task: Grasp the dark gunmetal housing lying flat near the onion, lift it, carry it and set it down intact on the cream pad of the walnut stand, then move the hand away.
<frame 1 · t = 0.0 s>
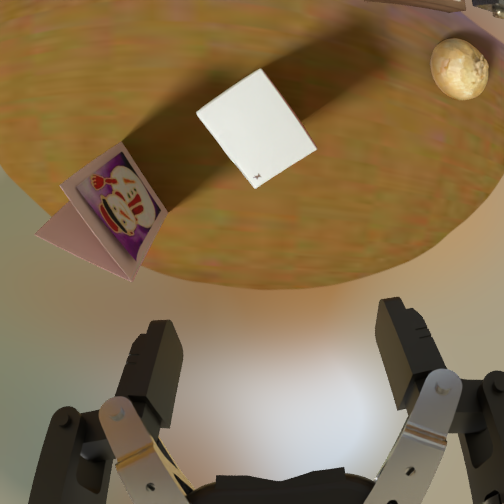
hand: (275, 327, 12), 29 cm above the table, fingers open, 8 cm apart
small box: (257, 109, 35), on the table
greeting card: (128, 187, 40), on the table
onion: (446, 67, 30), on the table
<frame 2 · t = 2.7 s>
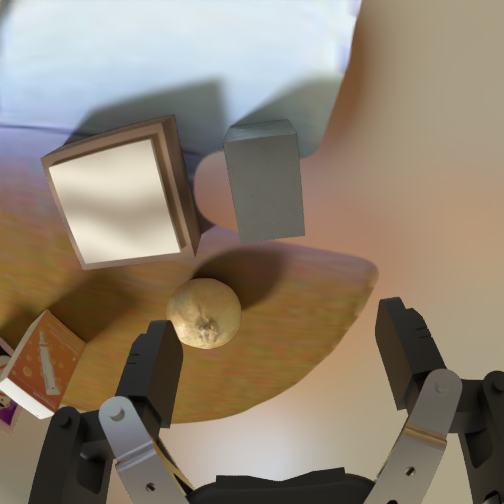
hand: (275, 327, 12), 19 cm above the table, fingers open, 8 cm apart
small box: (58, 331, 41), on the table
greeting card: (12, 355, 46), on the table
housing: (264, 166, 28), on the table
stand: (128, 188, 29), on the table
onion: (207, 295, 36), on the table
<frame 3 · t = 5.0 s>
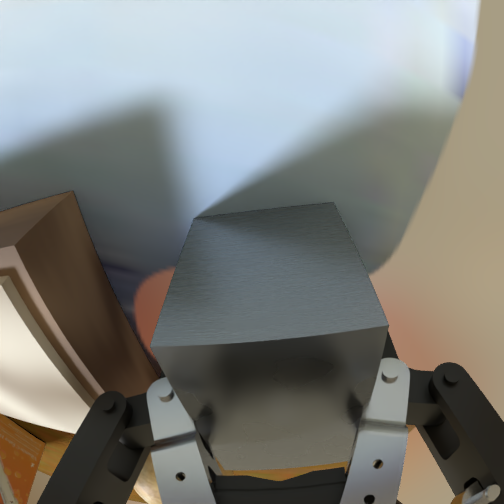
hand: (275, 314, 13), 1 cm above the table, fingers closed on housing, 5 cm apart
small box: (13, 425, 27), on the table
housing: (274, 297, 13), on the table, touching gripper
stand: (34, 312, 15), on the table
onion: (184, 436, 22), on the table
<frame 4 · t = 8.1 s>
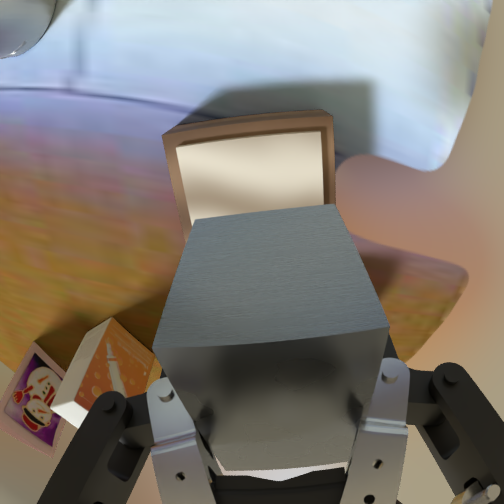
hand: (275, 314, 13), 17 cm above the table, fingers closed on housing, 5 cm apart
small box: (120, 341, 39), on the table
greeting card: (49, 365, 44), on the table
housing: (275, 297, 13), point 16 cm above the table, touching gripper
stand: (256, 183, 27), on the table
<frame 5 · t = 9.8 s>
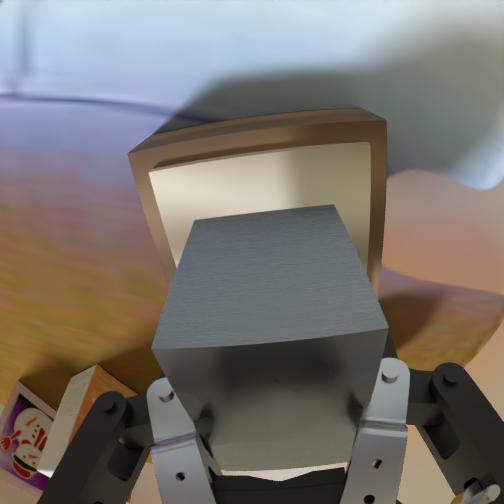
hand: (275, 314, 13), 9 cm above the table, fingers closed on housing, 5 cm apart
small box: (110, 388, 32), on the table
greeting card: (38, 403, 37), on the table
housing: (274, 298, 13), point 8 cm above the table, touching gripper
stand: (268, 212, 20), on the table
when the fingers open (7 cm above the table, at t = 11.1 s): housing drops 1 cm, resting on stand.
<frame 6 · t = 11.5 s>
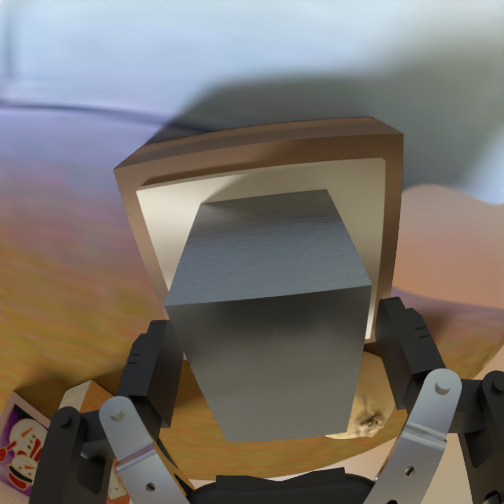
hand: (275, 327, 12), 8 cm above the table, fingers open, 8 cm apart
small box: (106, 402, 30), on the table
greeting card: (33, 413, 36), on the table
housing: (273, 277, 15), point 4 cm above the table, touching stand
stand: (269, 230, 18), on the table
onion: (342, 366, 26), on the table
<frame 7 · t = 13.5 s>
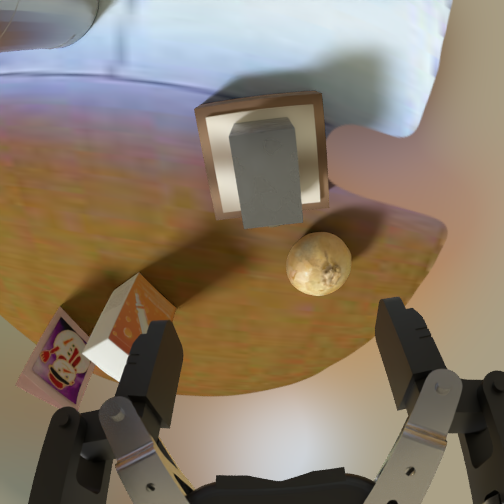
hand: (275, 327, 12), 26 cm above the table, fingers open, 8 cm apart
small box: (145, 297, 46), on the table
greeting card: (72, 331, 51), on the table
housing: (266, 160, 30), point 4 cm above the table, touching stand
stand: (264, 149, 34), on the table
onion: (314, 250, 41), on the table
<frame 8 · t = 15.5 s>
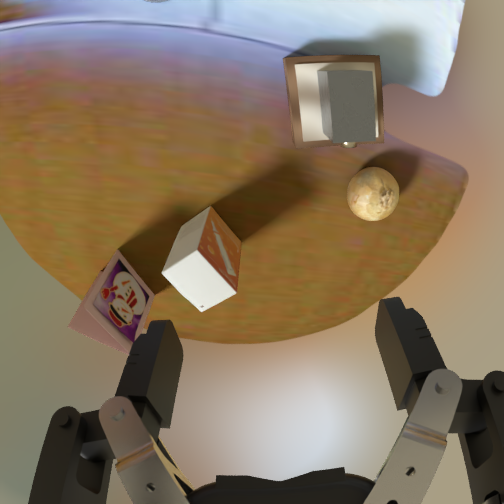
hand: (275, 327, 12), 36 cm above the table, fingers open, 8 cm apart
small box: (211, 232, 52), on the table
greeting card: (125, 277, 57), on the table
housing: (339, 100, 36), point 4 cm above the table, touching stand
stand: (331, 97, 39), on the table
onion: (366, 186, 47), on the table
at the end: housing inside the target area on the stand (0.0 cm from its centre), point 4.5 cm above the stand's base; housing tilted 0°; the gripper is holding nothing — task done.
